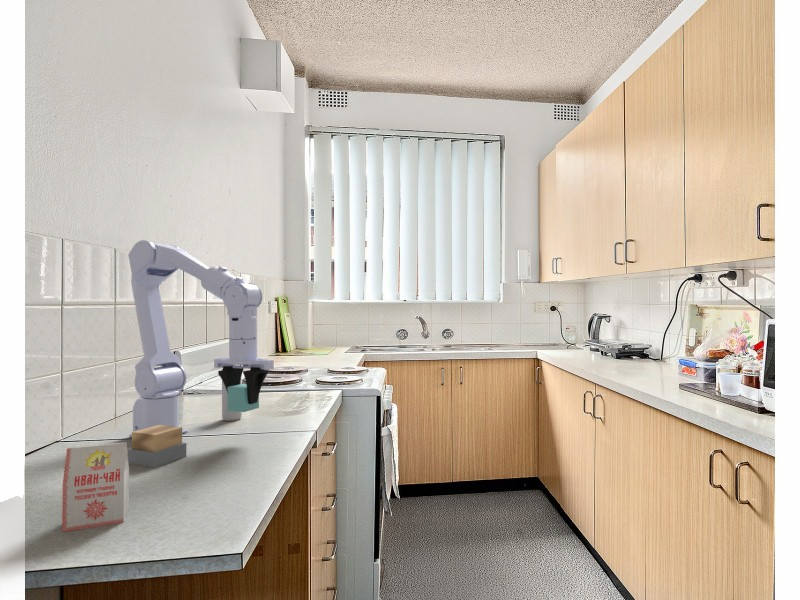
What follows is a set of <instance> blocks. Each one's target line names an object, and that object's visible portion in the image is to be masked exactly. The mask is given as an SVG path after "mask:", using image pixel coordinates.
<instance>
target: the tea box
mask: <svg viewBox="0 0 800 600" xmlns="http://www.w3.org/2000/svg"><path fill="white" fill-rule="evenodd" d="M129 502H130V464H128V442H127V441H125V442H115V443H106V444H95V445H85V446H76V447H75V446H74V447H67V448H66V456H65V466H64V472H63V480H62V510H61V512H62V514H61V516H62V523H61V524H62V525H61V531H62V532H69V531H76V530H83V529H89V528H90V529H91V528H96V527H101V526H108V525H115V524H120V523H121V524H123V523H124V522H125V520H126V518H127V517H128V514H129V512H130V506H129V505H130V503H129Z"/></svg>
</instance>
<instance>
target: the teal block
mask: <svg viewBox="0 0 800 600" xmlns="http://www.w3.org/2000/svg"><path fill="white" fill-rule="evenodd" d="M259 408H260V396H259V397H258V401H257V403H253V404H249V403H248V398H247V384H246V383H241V384H239V385H234V386H229V387H228V411H238V412H242V413H246V412H249V411H253V410H257V409H259Z"/></svg>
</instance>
